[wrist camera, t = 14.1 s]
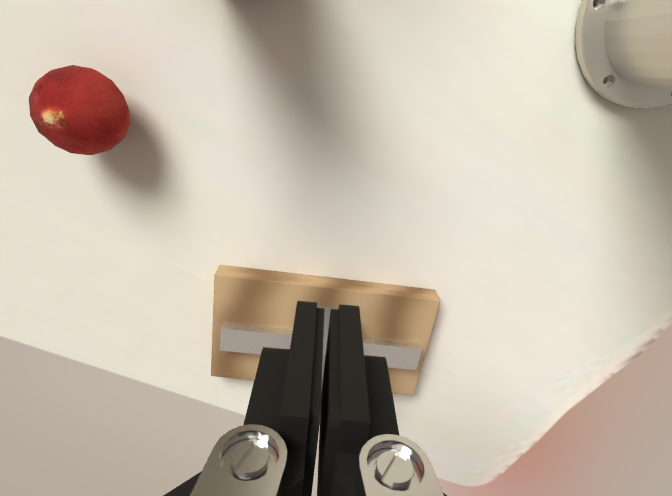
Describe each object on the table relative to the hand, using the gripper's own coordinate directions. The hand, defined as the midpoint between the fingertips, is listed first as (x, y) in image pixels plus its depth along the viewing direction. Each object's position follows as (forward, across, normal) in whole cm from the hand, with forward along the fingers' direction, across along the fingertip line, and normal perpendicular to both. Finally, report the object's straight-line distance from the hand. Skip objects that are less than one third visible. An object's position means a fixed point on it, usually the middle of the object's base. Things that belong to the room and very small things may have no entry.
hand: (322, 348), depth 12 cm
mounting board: (+25, -1, +17) cm, 30 cm away
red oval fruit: (+25, +17, -2) cm, 31 cm away
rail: (+23, -1, +17) cm, 29 cm away
